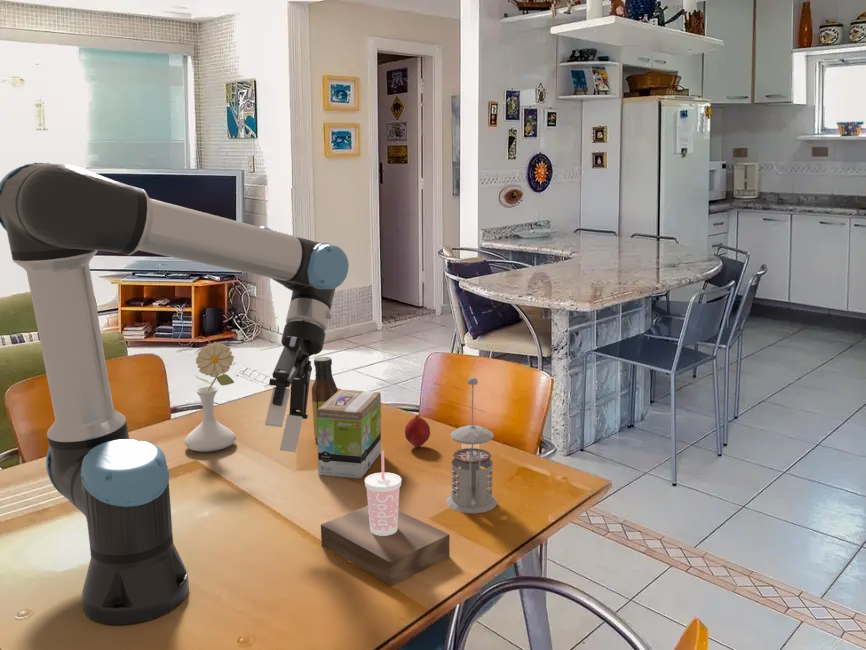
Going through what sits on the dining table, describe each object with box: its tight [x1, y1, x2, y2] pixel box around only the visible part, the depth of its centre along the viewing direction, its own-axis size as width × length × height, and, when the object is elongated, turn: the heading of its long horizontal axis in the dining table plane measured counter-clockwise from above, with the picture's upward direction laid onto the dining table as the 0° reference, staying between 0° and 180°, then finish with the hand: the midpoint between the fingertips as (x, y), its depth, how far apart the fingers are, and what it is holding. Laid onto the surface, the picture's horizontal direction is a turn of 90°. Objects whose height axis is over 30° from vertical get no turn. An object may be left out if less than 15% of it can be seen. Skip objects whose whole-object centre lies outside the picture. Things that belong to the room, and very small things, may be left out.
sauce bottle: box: [311, 356, 339, 443], centre depth 183 cm, size 7×6×20 cm
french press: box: [446, 376, 498, 514], centre depth 149 cm, size 10×12×25 cm
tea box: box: [317, 389, 382, 479], centre depth 170 cm, size 15×10×15 cm, turn 168°
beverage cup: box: [364, 450, 402, 536], centre depth 132 cm, size 6×6×14 cm
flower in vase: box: [183, 341, 237, 452], centre depth 179 cm, size 13×11×25 cm
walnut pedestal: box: [320, 505, 450, 587], centre depth 134 cm, size 13×18×4 cm
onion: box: [404, 413, 431, 449], centre depth 180 cm, size 6×6×8 cm
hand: (280, 438), depth 136 cm, fingers open, 13 cm apart
